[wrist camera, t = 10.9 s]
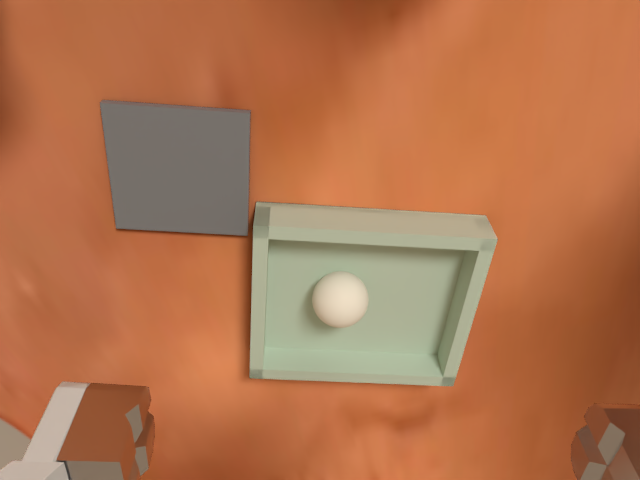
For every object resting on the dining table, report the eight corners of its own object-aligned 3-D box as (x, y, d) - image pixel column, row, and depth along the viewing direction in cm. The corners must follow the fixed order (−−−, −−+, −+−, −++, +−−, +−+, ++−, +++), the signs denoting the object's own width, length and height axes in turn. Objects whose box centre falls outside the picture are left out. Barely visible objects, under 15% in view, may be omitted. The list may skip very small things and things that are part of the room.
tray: (485, 215, 41) (497, 239, 39) (445, 358, 49) (453, 386, 46) (256, 201, 40) (253, 225, 37) (252, 350, 48) (249, 378, 45)
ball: (379, 269, 41) (361, 303, 38) (371, 311, 44) (354, 346, 41) (326, 253, 43) (305, 285, 39) (322, 295, 45) (301, 328, 42)
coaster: (250, 110, 36) (250, 113, 36) (248, 231, 41) (247, 235, 41) (102, 99, 36) (99, 102, 35) (118, 224, 41) (116, 228, 40)
